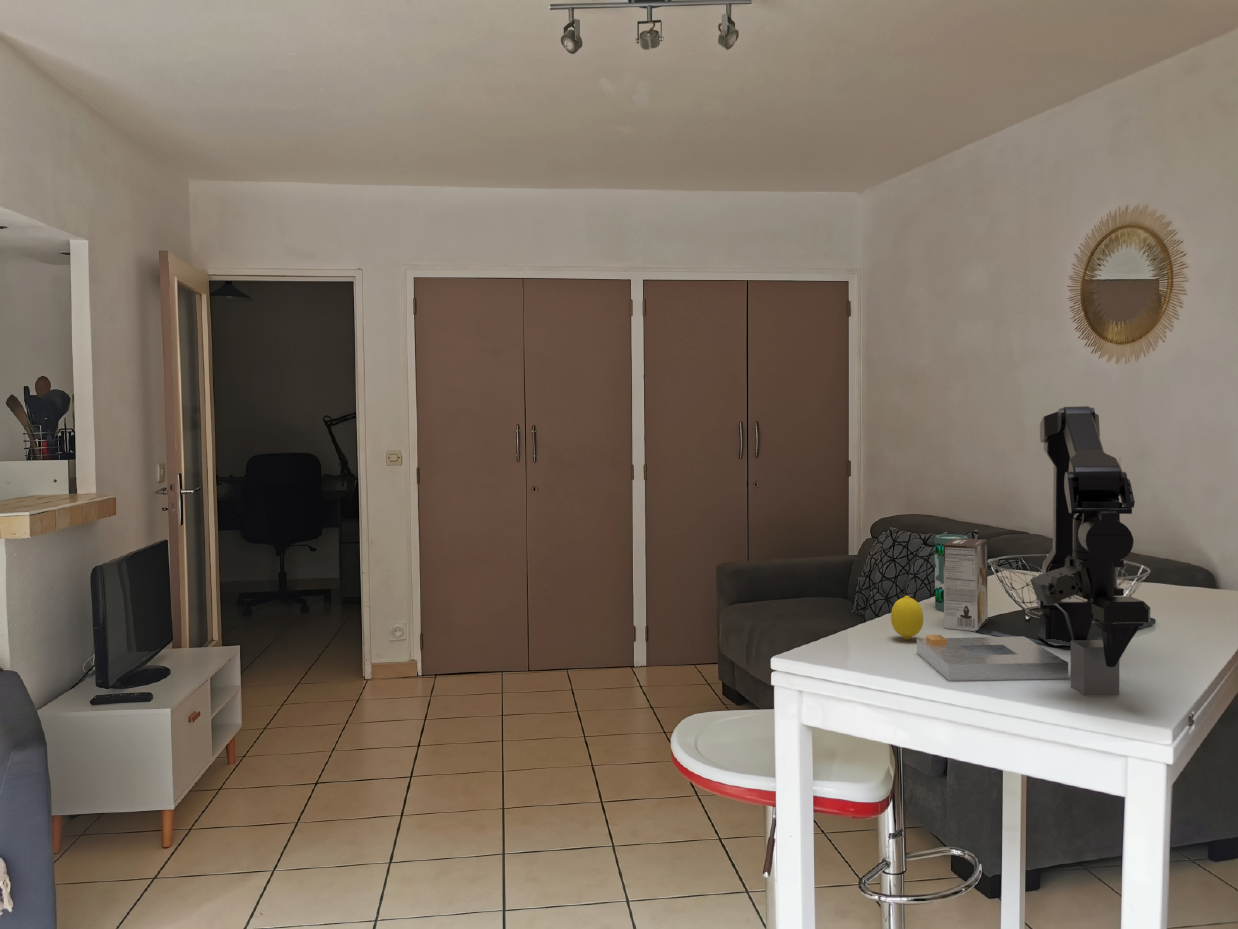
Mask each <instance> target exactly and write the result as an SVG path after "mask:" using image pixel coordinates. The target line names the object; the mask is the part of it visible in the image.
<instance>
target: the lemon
mask: <svg viewBox="0 0 1238 929" xmlns="http://www.w3.org/2000/svg"><path fill="white" fill-rule="evenodd" d="M890 621H891V626H892V628H893V629H894V631H895V633H897V634H898V635H899V636H902V637H903V639H904V640H907V641H908V640H911V639H912V637H916V635H918V634H919V633H920V632H921V630H922V628H923V626H924V613H923V609H922V607H921V604H920V603H919V602H918V601H917V600H915V599H914V598H912V597H910V596H909V595H905V596H904V597H902V598H899V599H898V600H896V601H895V602H894V604H893V606H892V609H891V614H890Z"/></svg>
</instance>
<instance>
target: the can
mask: <svg viewBox="0 0 1238 929" xmlns="http://www.w3.org/2000/svg"><path fill="white" fill-rule="evenodd" d="M954 538H958V539H969V536H967V535H963V534H962V535H961V534H937V535H935V536H934V608H935V610H936V611H939V612H943V613H944V550H943V545H944V544H946V543H947V542H949V541H951V540H952V539H954Z"/></svg>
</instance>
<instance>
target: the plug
mask: <svg viewBox="0 0 1238 929" xmlns="http://www.w3.org/2000/svg"><path fill="white" fill-rule="evenodd" d="M1070 689H1072V690H1074V691H1076V692H1077V693H1079V694H1080V695H1082V696H1087V697H1089V696H1090V697H1091V696H1092V697H1093V696H1097V697H1098V696H1120V660H1119V661H1118V663H1117V665H1116V666H1115V667H1108V666H1107V665H1106V661H1105V655H1104V647H1103V639H1090V640H1089V639H1087V640H1071V646H1070Z"/></svg>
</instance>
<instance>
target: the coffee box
mask: <svg viewBox="0 0 1238 929" xmlns="http://www.w3.org/2000/svg"><path fill="white" fill-rule="evenodd" d="M943 550H944V612H943V623H944V624H943V627H944V629H947V630H957V631H958V630H959V631H968V632H976V631H975V630H978V629H979V627H980V626H981V624H982V623H983V622H984V621H985V619H988V617H989V615H988V611H989V610H988V609H989V608H988V606H989V605H988V604H989V603H988V599H989V598H988V539H985V538H984V539H982V538H981V539H980V538H979V539H977V538H968V539H958V538H954V539H952V540H951V541H949V542H947V543H946V544H944V545H943Z"/></svg>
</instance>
